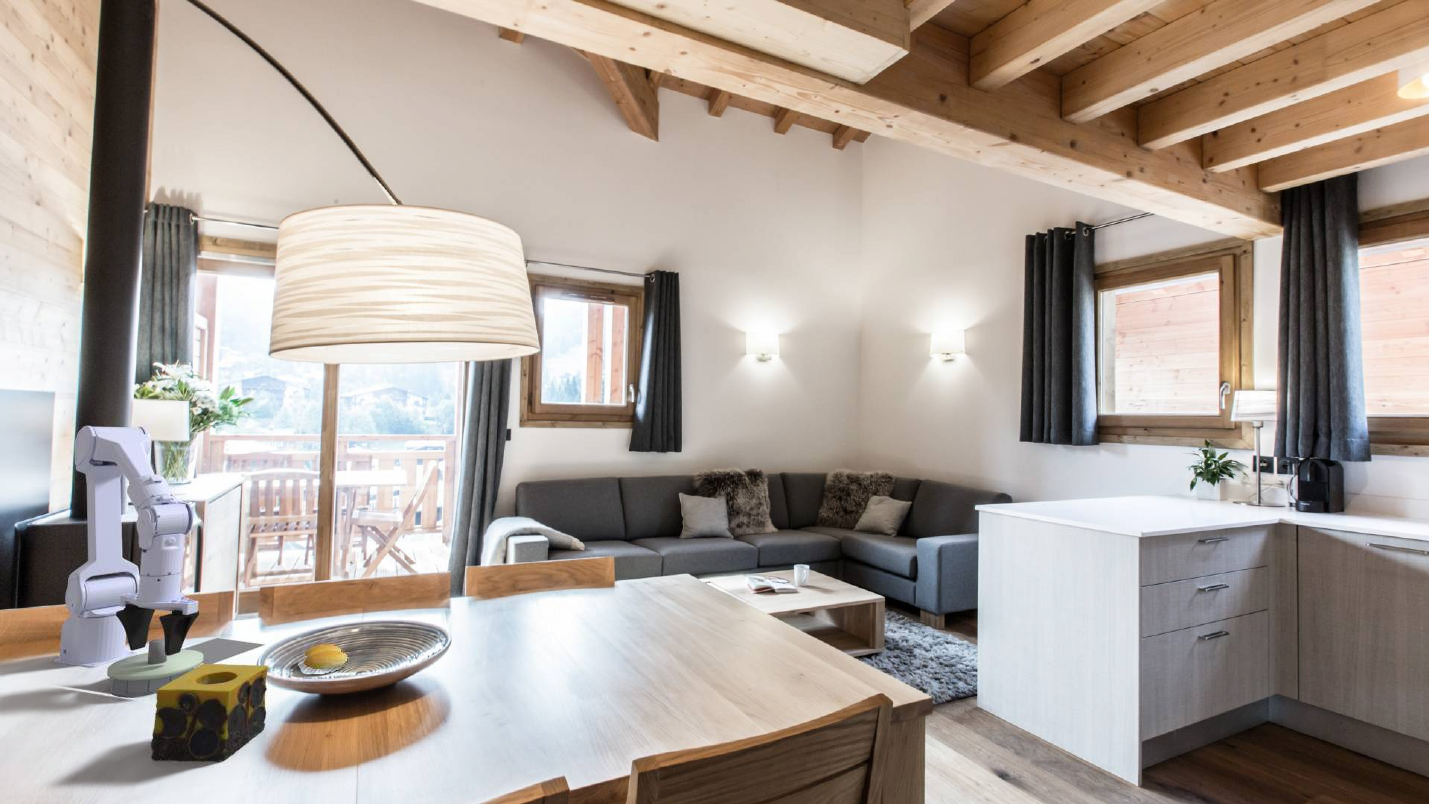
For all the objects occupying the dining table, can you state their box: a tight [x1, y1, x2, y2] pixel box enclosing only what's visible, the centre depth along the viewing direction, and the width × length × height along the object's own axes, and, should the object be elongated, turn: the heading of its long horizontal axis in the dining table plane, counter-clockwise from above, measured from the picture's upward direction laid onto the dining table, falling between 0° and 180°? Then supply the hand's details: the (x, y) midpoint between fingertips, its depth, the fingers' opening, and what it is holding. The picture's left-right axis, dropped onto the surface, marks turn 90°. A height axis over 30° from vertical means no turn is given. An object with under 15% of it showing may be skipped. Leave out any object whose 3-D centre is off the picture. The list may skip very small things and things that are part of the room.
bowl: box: [109, 668, 195, 699], centre depth 118 cm, size 11×11×3 cm
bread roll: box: [304, 643, 349, 670], centre depth 130 cm, size 8×9×4 cm
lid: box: [106, 638, 203, 681], centre depth 119 cm, size 13×13×4 cm
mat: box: [181, 637, 266, 664], centre depth 135 cm, size 12×12×1 cm
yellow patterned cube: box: [150, 663, 269, 762], centre depth 99 cm, size 10×10×10 cm
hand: (155, 651), depth 118 cm, fingers open, 7 cm apart
